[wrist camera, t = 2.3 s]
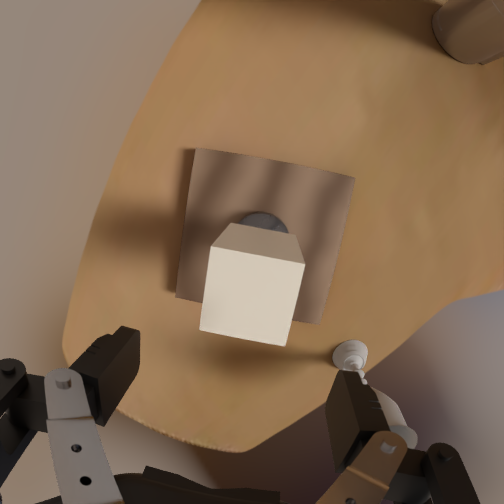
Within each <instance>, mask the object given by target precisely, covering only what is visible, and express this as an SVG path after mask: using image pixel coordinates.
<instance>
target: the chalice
mask: <svg viewBox="0 0 504 504" xmlns="http://www.w3.org/2000/svg"><path fill="white" fill-rule="evenodd" d="M367 355H368V351H367V347H366V346H365V344H363V343H362V342H360V341H358V340H349V341H345V342H343V343H341V344H340V345H339V346H338V347H337V348H336V349H335V351H334V352H333V357H332V358H333V363H334V364H335V366H336V367H338V368H339V369H341V370H347V371H356V372H358V373H359V375H360V378H361V380H362V383H363V384H367V381H366V380H365V379H363V377H364V372H363V371H362V370H361V369H362V368H363V367H364V365H365V363H366V359H367ZM371 388H372V387H371ZM372 389H373V390H374V391H375V393H376V395H377V397H378V400H379V403H380V405H381V407H382V408H381V410H383V412H384V415H385V418H386V420H387V423H388V425H389V428H390V430H391V432H394V433H396V434H398V435H400V436H401V437H402V438H403V439H404V440H405V441H406V443H407V447H408V448H411V449H414V448H415V446H416V444H417V435H416V433H415V431H414V430H412V429H410V428H409V427H407V425H406V423H405V420H404V418H403V416H402V414H401V412H400V409H399V407H398V406H397V404H396V403H395V402H394V401H393V400H391V399H390V398H389V397H388V396H386V395H385V394H384V393H382V392H380V391H378V390H376V389H374V388H372Z"/></svg>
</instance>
